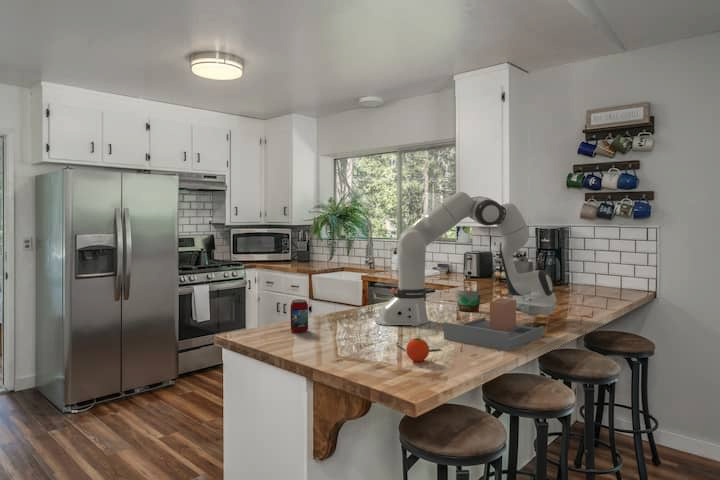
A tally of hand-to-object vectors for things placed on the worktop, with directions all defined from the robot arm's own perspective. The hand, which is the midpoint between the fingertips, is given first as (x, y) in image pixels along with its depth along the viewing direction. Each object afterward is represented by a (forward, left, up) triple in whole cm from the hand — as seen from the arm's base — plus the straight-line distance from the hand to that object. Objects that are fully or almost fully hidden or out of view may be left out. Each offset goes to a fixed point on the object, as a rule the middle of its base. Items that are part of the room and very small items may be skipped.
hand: (518, 309), depth 192 cm
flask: (+47, +97, -8) cm, 109 cm away
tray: (-15, -13, -8) cm, 21 cm away
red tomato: (-50, -38, -8) cm, 63 cm away
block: (-10, -8, -5) cm, 14 cm away
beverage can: (-86, +6, -8) cm, 86 cm away
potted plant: (-8, +36, -8) cm, 38 cm away
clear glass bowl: (-46, -22, -8) cm, 52 cm away
